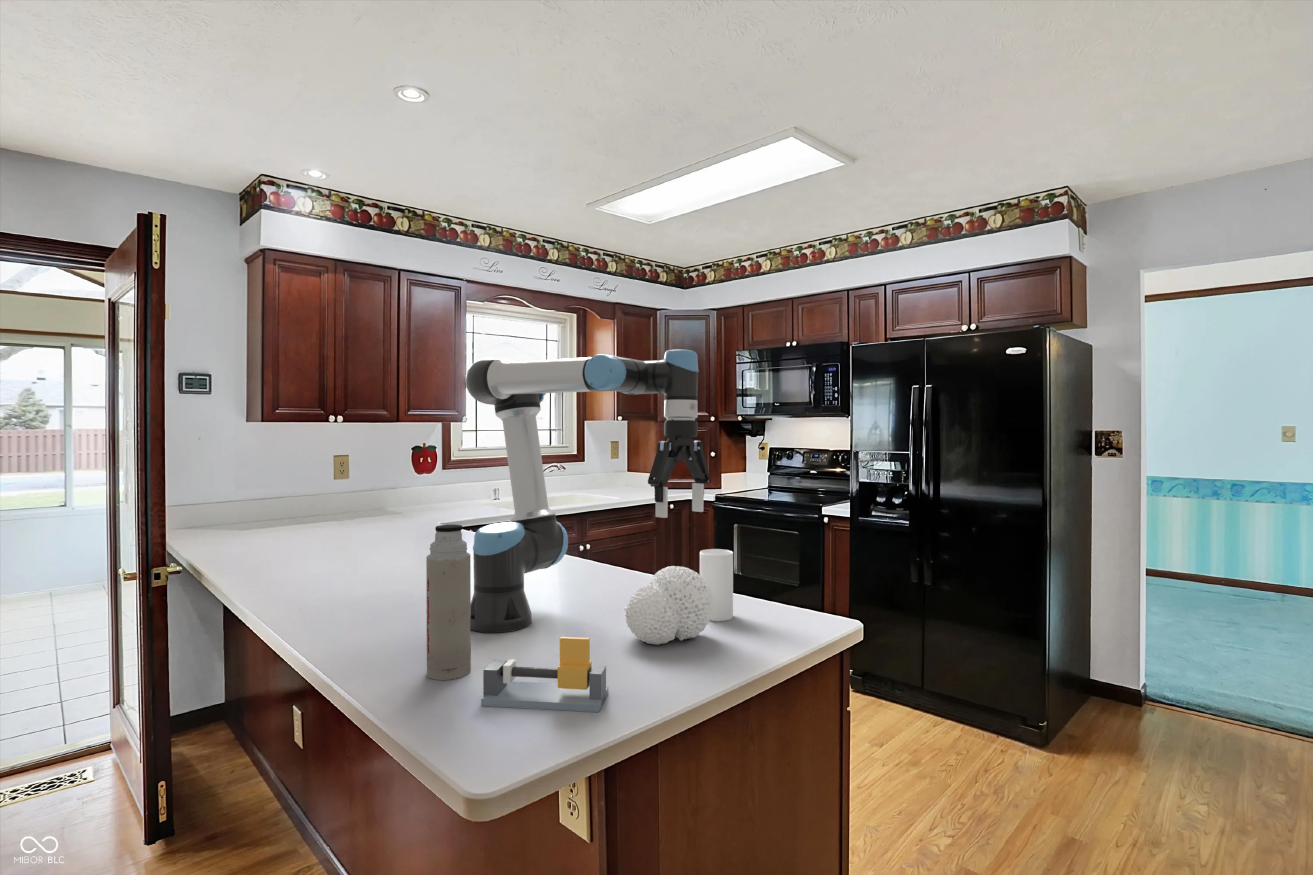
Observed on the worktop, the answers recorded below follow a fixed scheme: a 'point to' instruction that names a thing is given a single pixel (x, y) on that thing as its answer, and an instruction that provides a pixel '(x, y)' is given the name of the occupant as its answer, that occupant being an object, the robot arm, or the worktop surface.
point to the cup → (719, 581)
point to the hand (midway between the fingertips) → (680, 514)
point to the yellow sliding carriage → (574, 663)
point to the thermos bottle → (448, 605)
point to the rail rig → (540, 689)
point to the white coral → (670, 606)
